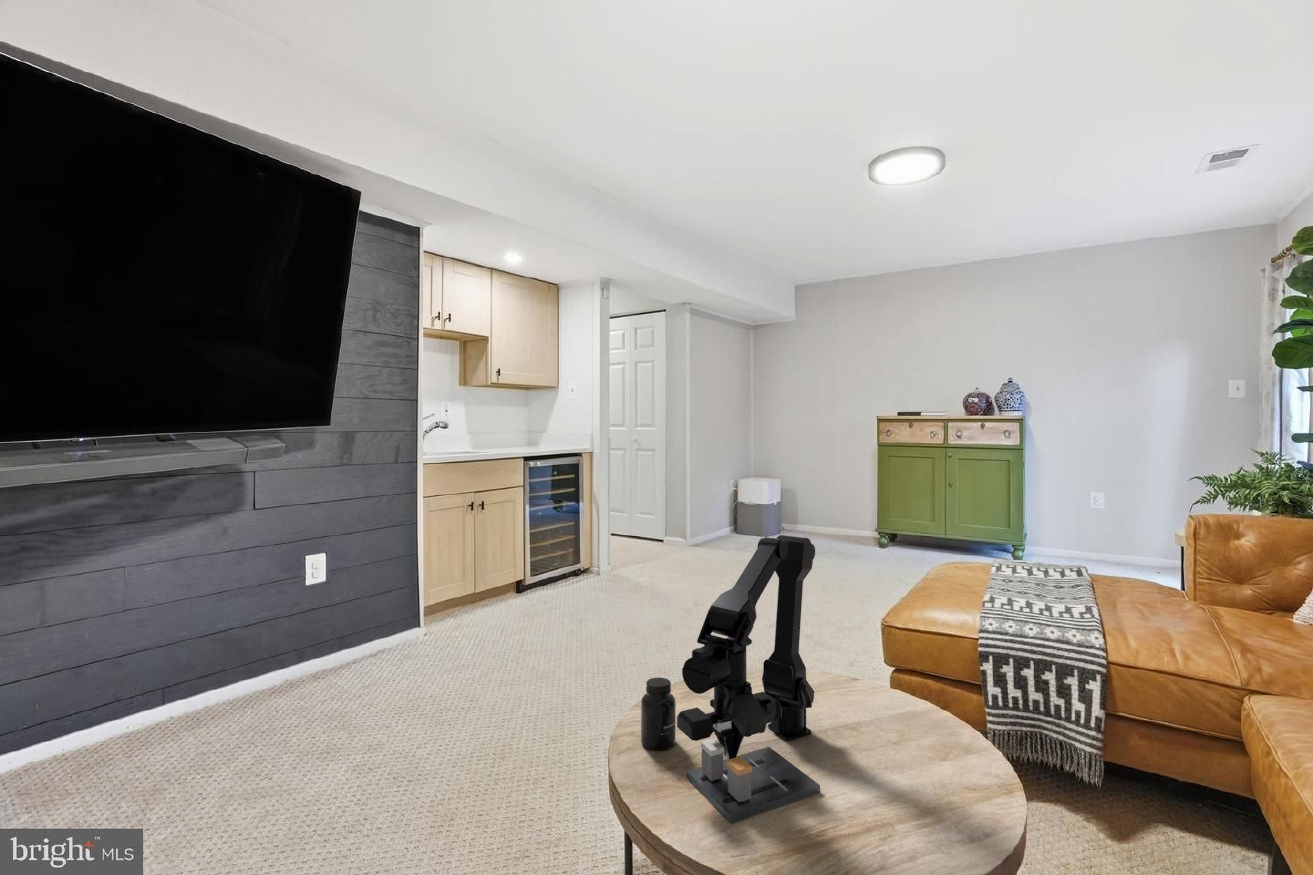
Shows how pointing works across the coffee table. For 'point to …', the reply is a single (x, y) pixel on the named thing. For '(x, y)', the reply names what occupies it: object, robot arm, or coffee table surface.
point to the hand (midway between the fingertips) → (730, 763)
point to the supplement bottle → (658, 715)
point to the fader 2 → (739, 778)
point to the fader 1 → (712, 759)
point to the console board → (756, 785)
